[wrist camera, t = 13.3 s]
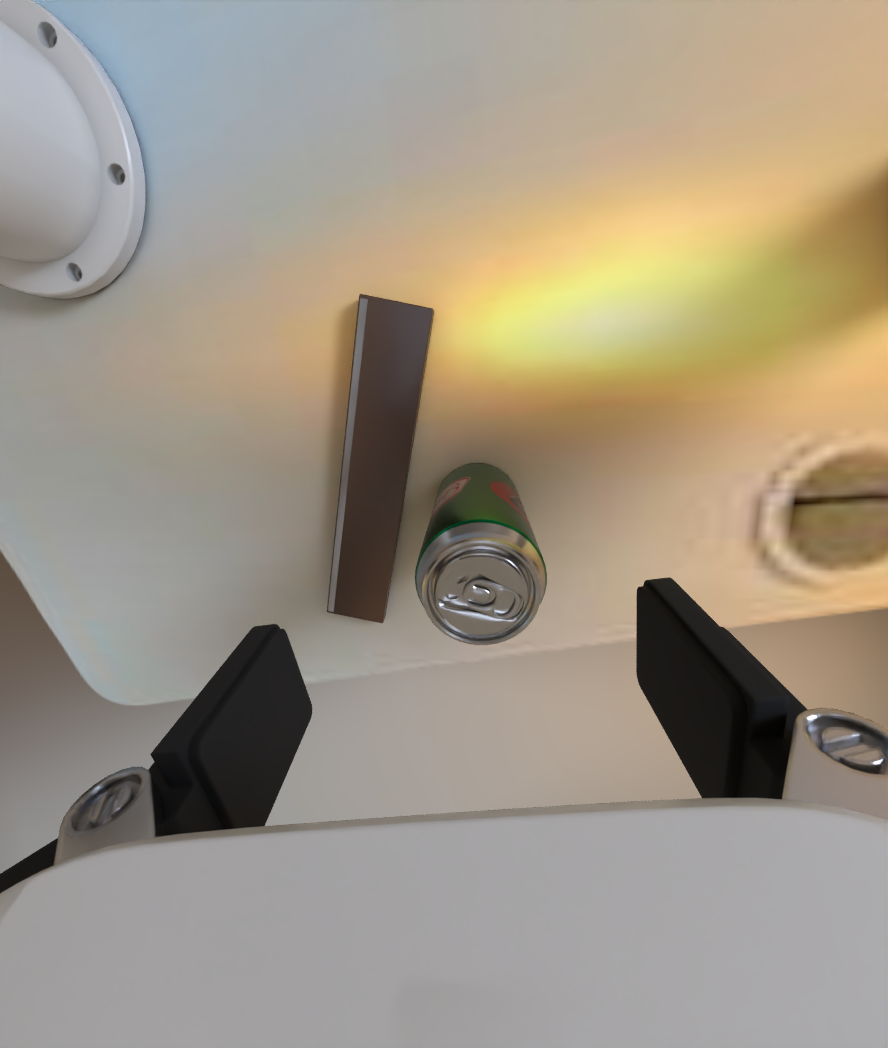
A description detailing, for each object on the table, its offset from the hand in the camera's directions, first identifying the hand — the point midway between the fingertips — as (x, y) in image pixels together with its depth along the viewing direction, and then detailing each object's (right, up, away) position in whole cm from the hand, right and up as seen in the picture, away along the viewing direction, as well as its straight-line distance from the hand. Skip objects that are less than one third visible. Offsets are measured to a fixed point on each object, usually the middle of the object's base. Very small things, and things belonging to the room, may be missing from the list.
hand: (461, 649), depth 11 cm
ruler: (-5, +6, +15) cm, 17 cm away
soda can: (+2, +5, +15) cm, 16 cm away
